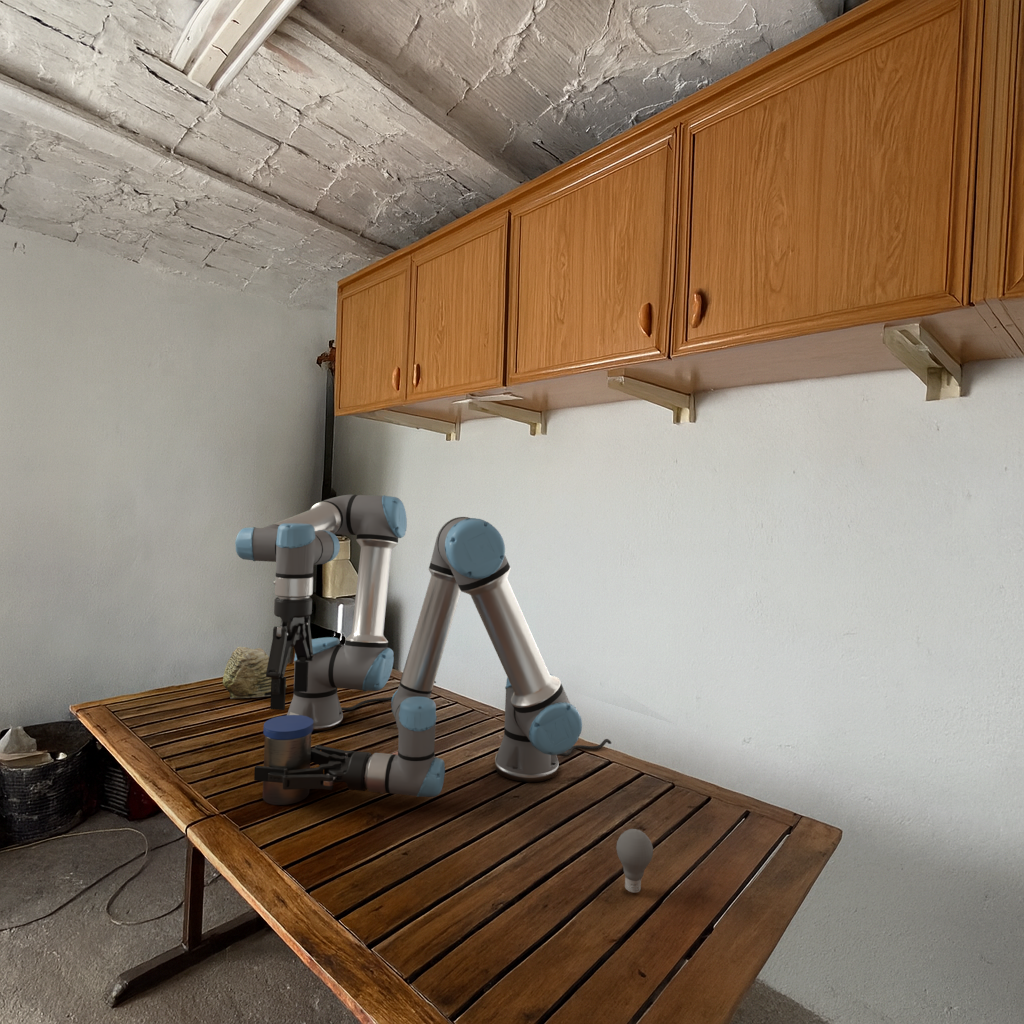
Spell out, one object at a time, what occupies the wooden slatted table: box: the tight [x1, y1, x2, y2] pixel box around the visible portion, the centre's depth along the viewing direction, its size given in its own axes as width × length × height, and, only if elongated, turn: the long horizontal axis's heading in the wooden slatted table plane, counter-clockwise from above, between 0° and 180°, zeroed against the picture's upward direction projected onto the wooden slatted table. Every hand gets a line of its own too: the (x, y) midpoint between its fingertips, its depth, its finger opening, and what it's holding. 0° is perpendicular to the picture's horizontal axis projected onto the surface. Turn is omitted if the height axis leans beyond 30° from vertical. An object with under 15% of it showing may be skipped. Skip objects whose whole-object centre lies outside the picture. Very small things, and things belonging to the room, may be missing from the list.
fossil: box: [222, 646, 288, 699], centre depth 198 cm, size 9×18×15 cm, turn 132°
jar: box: [262, 732, 313, 806], centre depth 134 cm, size 9×9×15 cm
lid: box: [262, 714, 313, 740], centre depth 134 cm, size 10×10×2 cm
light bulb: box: [615, 828, 654, 894], centre depth 106 cm, size 6×6×10 cm
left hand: (289, 699), depth 134 cm, fingers open, 11 cm apart
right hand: (267, 762), depth 134 cm, fingers closed on jar, 9 cm apart
